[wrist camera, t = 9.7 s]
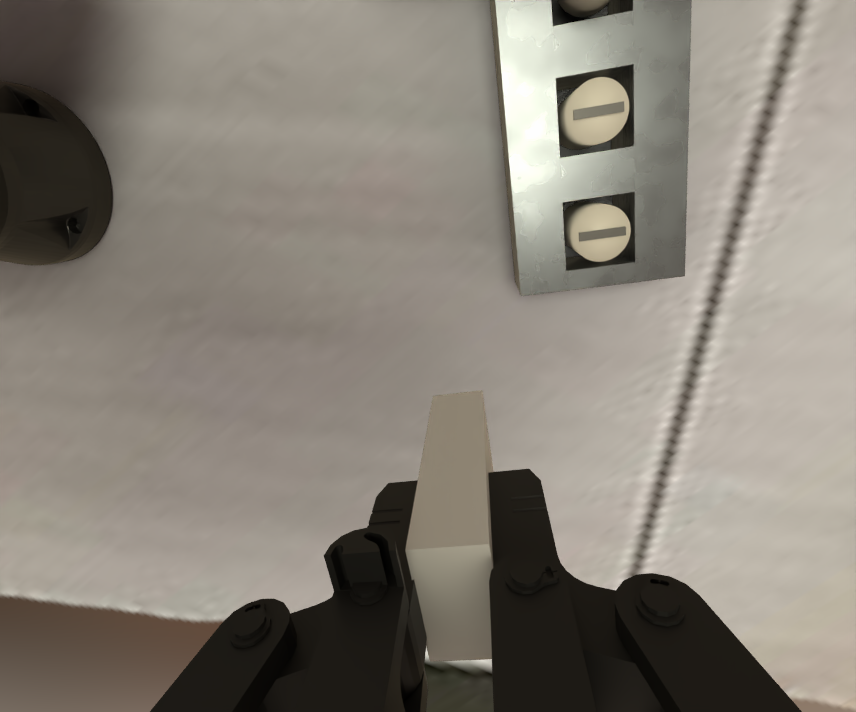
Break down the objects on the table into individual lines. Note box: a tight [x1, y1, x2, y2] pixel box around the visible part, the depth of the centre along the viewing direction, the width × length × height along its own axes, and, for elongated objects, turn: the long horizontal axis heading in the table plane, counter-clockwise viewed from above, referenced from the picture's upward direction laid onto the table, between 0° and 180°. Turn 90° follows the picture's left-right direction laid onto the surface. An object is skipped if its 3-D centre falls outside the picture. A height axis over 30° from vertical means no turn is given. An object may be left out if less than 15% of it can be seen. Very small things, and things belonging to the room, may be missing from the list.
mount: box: [490, 0, 692, 296], centre depth 36 cm, size 12×24×6 cm, turn 8°
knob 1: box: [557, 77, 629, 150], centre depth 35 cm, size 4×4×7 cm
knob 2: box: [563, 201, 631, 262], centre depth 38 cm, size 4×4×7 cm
